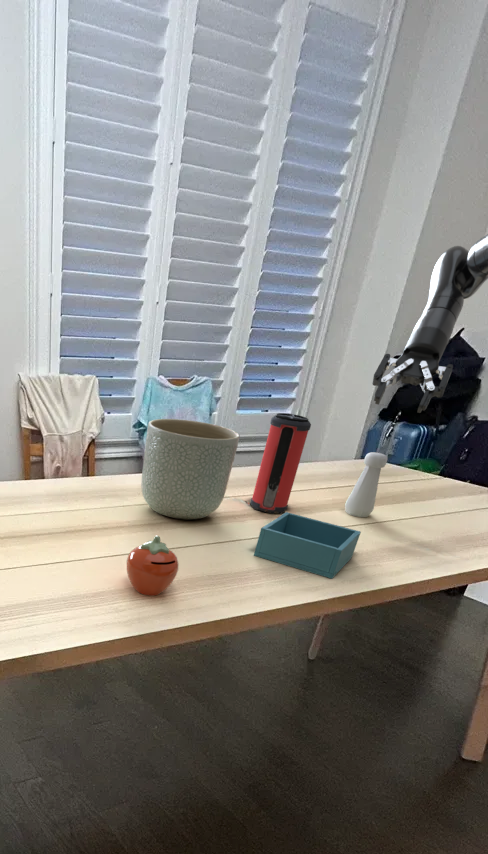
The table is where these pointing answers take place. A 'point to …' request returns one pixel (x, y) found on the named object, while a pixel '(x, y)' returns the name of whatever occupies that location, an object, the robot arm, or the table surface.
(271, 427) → the speaker
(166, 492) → the planter
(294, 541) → the bin
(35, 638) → the table surface
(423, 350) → the robot arm
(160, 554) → the tomato
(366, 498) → the salt shaker
